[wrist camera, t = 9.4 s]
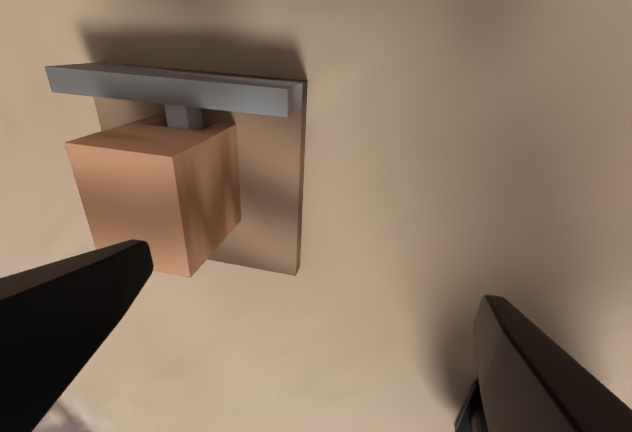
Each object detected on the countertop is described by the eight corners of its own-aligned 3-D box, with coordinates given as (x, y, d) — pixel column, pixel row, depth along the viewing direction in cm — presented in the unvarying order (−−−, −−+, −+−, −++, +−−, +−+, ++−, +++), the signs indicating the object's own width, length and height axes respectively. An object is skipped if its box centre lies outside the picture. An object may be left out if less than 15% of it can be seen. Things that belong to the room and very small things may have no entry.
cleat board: (299, 267, 23) (284, 300, 20) (138, 237, 25) (102, 264, 22) (307, 80, 18) (288, 88, 15) (99, 62, 20) (44, 66, 17)
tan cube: (241, 220, 21) (190, 277, 16) (167, 208, 22) (96, 259, 17) (236, 124, 19) (171, 156, 13) (152, 114, 19) (61, 142, 14)
